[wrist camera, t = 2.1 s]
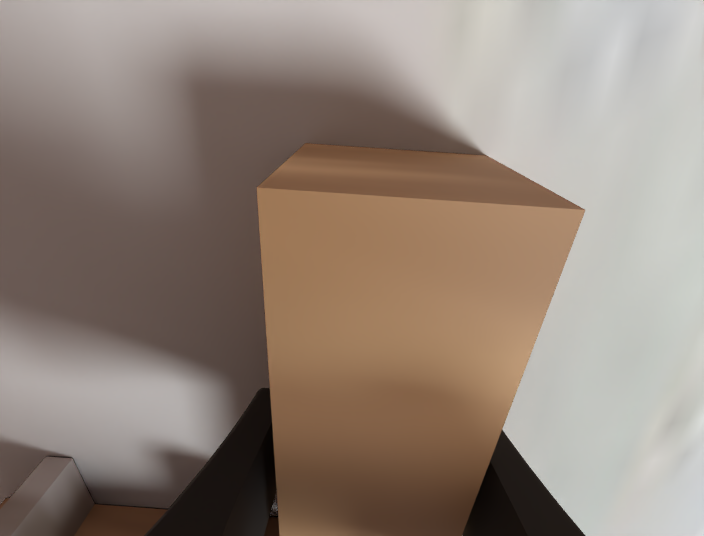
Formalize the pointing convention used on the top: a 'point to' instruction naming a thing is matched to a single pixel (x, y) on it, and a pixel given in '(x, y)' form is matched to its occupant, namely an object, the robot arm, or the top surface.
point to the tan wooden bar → (398, 329)
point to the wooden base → (74, 508)
